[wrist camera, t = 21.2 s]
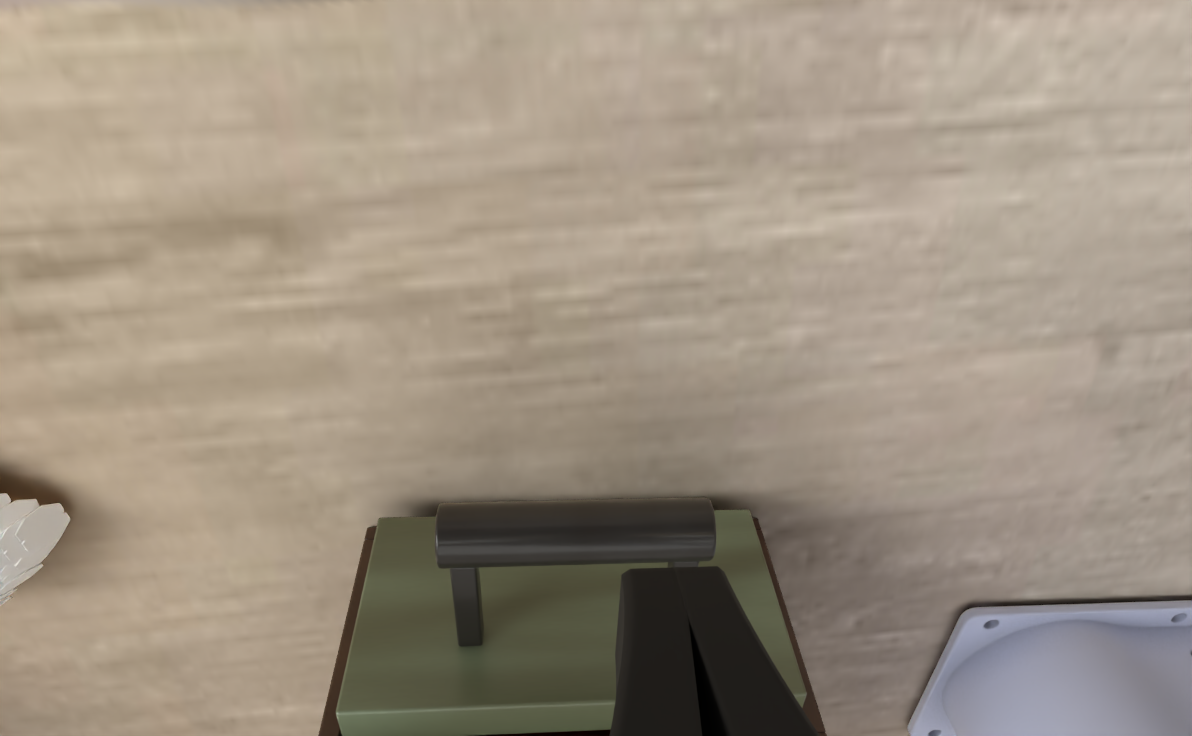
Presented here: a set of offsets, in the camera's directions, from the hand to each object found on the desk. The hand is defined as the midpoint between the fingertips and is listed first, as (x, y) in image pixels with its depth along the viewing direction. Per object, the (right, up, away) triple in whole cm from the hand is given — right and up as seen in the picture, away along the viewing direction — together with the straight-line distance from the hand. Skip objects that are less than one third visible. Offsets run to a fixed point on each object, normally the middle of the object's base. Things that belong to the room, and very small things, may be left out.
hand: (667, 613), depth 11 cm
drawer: (-2, -4, +14) cm, 15 cm away
